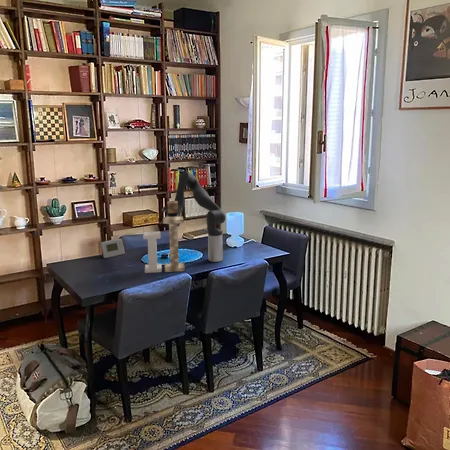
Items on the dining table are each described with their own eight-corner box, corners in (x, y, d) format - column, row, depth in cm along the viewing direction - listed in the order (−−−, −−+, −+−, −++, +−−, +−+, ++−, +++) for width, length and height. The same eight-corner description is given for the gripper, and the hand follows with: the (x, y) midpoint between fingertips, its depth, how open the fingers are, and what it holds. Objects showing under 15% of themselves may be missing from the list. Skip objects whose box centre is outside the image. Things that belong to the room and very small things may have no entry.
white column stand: (161, 266, 290) (160, 231, 285) (161, 272, 280) (160, 235, 275) (145, 267, 289) (143, 231, 284) (144, 272, 279) (143, 235, 274)
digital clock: (103, 259, 307) (102, 243, 305) (99, 255, 315) (98, 240, 312) (126, 255, 315) (126, 240, 313) (122, 252, 323) (121, 237, 320)
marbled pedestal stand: (184, 266, 292) (182, 216, 284) (184, 271, 282) (183, 219, 275) (164, 266, 290) (163, 217, 283) (164, 271, 281) (163, 220, 273)
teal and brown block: (177, 206, 295) (176, 197, 294) (177, 212, 276) (177, 203, 275) (167, 206, 295) (167, 197, 293) (167, 213, 275) (167, 203, 274)
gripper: (161, 208, 303) (161, 199, 286) (182, 208, 304) (183, 199, 288) (162, 219, 301) (161, 211, 284) (183, 218, 302) (184, 210, 286)
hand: (172, 205), depth 286 cm, fingers closed on teal and brown block, 2 cm apart
